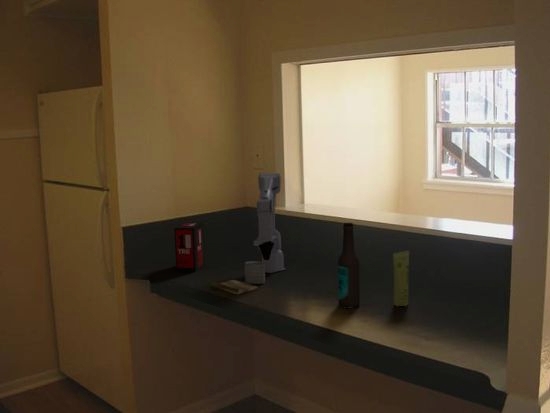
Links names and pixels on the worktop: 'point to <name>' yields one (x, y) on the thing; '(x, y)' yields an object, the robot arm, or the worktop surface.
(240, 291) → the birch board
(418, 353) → the worktop surface
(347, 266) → the beer bottle
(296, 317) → the worktop surface
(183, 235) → the cleaning product box
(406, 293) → the tube
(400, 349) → the worktop surface
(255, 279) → the medicine box
